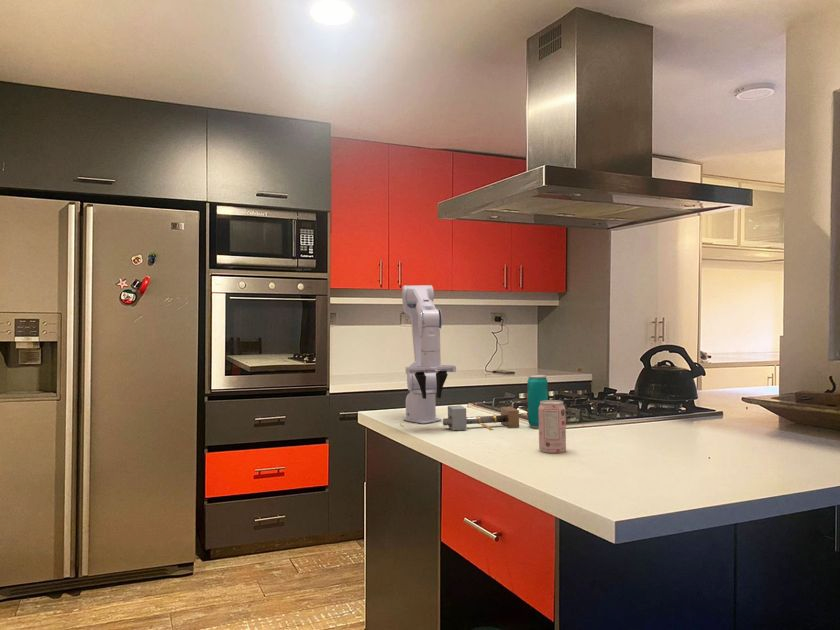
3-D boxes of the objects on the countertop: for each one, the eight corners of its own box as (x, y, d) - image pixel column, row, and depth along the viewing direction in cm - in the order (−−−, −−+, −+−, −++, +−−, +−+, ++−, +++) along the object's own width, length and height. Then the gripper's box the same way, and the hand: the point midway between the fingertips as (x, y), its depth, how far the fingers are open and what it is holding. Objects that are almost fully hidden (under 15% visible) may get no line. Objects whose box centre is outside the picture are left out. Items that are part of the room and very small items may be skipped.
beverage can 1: (547, 425, 189) (546, 374, 189) (549, 429, 183) (548, 376, 183) (527, 425, 190) (526, 374, 189) (529, 429, 184) (528, 377, 184)
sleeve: (453, 430, 183) (452, 409, 183) (448, 426, 189) (447, 406, 189) (466, 429, 184) (466, 408, 184) (461, 425, 190) (460, 405, 190)
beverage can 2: (567, 448, 159) (566, 400, 159) (564, 454, 153) (563, 404, 152) (541, 447, 161) (540, 399, 161) (537, 452, 155) (536, 403, 155)
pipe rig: (447, 432, 181) (447, 415, 181) (440, 426, 190) (440, 410, 190) (520, 428, 185) (520, 410, 185) (510, 422, 194) (509, 406, 194)
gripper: (408, 352, 179) (409, 401, 179) (458, 350, 182) (459, 398, 182) (403, 351, 186) (404, 397, 186) (452, 349, 189) (453, 395, 189)
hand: (431, 397), depth 185 cm, fingers open, 4 cm apart
